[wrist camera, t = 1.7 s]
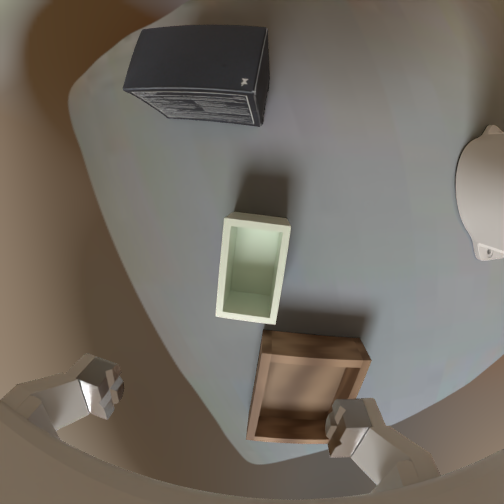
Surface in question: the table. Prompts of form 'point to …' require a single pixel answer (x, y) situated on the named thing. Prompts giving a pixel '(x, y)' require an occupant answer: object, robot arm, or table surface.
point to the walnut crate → (302, 385)
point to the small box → (202, 72)
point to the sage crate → (252, 267)
